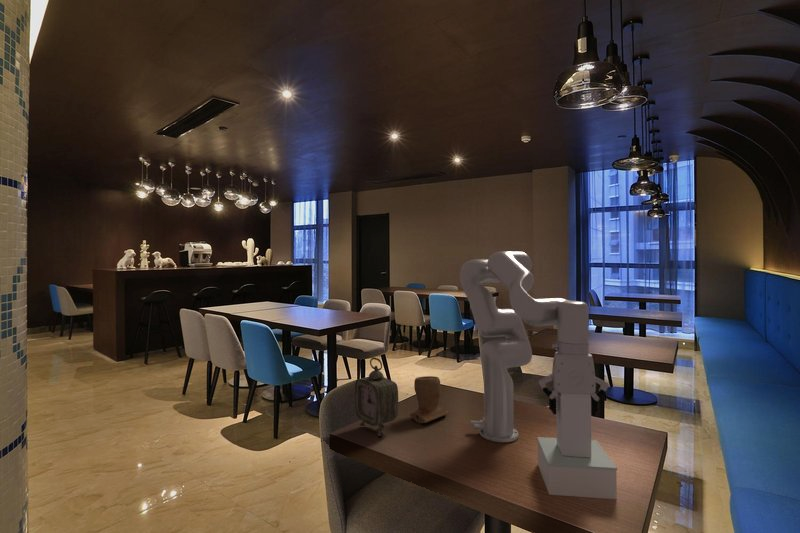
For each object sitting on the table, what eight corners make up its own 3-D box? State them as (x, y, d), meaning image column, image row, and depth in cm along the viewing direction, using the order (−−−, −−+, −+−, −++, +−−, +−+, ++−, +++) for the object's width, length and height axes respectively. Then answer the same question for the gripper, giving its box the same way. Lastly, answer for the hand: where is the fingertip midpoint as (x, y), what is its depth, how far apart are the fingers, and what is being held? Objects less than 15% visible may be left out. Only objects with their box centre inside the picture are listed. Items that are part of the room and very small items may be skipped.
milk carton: (591, 458, 105) (591, 383, 105) (561, 456, 106) (561, 382, 106) (584, 446, 112) (583, 375, 112) (556, 444, 113) (556, 374, 113)
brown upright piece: (428, 408, 164) (428, 370, 164) (452, 416, 156) (452, 376, 156) (401, 418, 153) (401, 378, 153) (425, 427, 145) (425, 384, 145)
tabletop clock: (355, 427, 146) (354, 356, 146) (376, 420, 152) (375, 352, 152) (379, 440, 135) (378, 363, 135) (400, 433, 140) (400, 359, 140)
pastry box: (549, 494, 102) (548, 466, 102) (537, 464, 118) (537, 439, 118) (616, 499, 100) (616, 470, 100) (596, 467, 115) (596, 442, 115)
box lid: (548, 466, 102) (548, 463, 102) (537, 439, 118) (537, 437, 118) (617, 470, 100) (617, 467, 100) (596, 442, 115) (596, 440, 115)
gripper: (541, 350, 106) (541, 417, 107) (613, 352, 104) (613, 420, 104) (536, 344, 114) (536, 407, 114) (603, 346, 111) (603, 410, 111)
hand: (572, 413), depth 109 cm, fingers open, 9 cm apart
